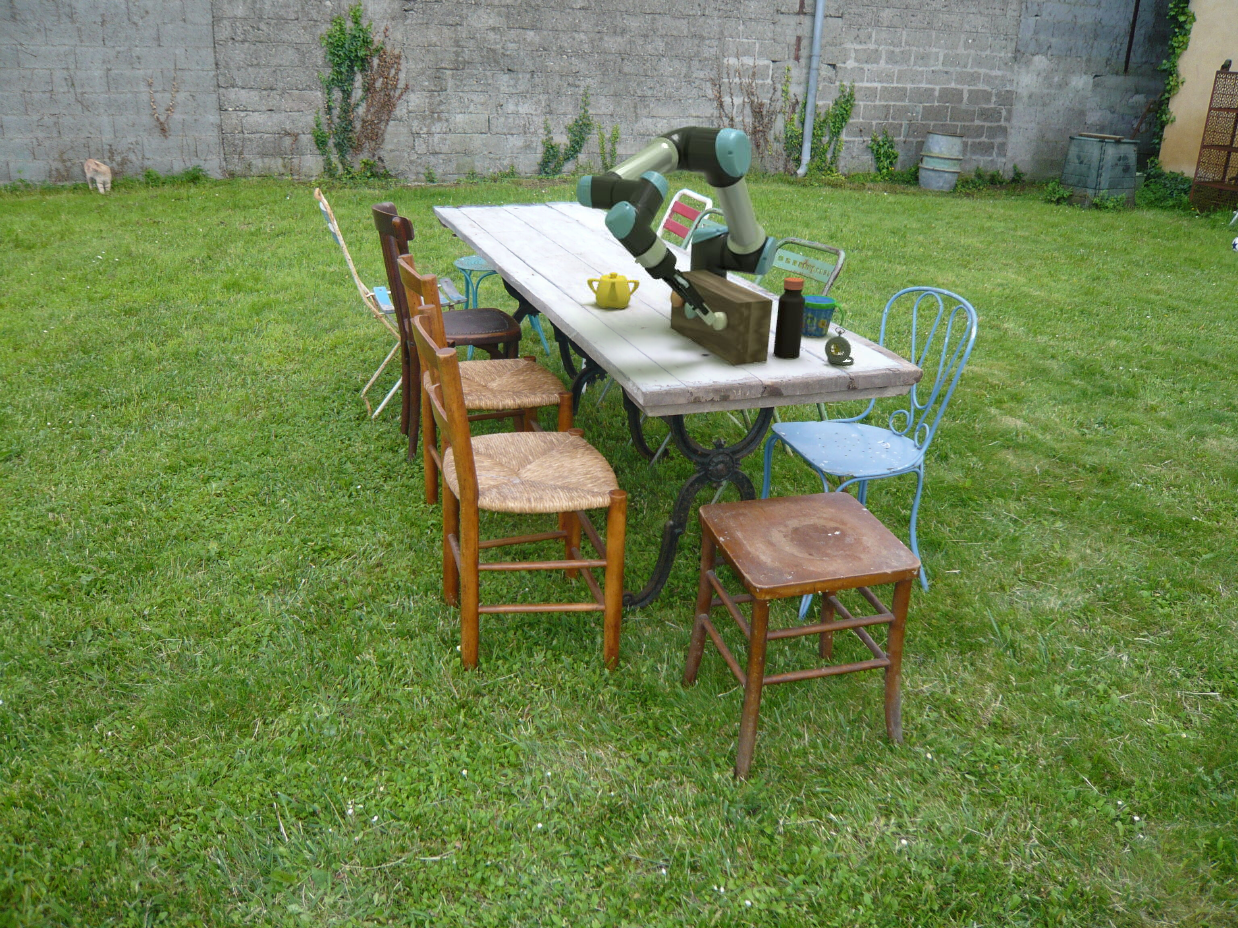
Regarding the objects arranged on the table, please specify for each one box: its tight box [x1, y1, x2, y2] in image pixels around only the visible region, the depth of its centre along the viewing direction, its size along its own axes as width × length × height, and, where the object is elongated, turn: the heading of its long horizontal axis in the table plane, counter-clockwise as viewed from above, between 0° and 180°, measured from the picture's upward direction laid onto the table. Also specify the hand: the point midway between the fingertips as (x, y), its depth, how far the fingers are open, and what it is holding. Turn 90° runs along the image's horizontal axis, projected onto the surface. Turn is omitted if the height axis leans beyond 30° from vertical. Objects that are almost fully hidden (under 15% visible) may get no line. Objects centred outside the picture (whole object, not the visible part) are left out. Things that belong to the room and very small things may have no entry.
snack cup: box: [802, 294, 845, 338], centre depth 258 cm, size 16×10×10 cm
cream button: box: [713, 312, 728, 330], centre depth 233 cm, size 6×4×4 cm
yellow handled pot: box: [586, 271, 641, 310], centre depth 281 cm, size 14×13×10 cm
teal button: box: [685, 303, 698, 319], centre depth 242 cm, size 6×4×4 cm
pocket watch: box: [824, 326, 855, 365], centre depth 234 cm, size 8×8×10 cm
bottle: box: [773, 276, 805, 359], centre depth 237 cm, size 7×7×20 cm
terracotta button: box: [670, 290, 684, 307], centre depth 253 cm, size 6×4×4 cm
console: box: [669, 270, 774, 366], centre depth 245 cm, size 10×36×16 cm, turn 23°
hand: (712, 320), depth 231 cm, fingers closed
